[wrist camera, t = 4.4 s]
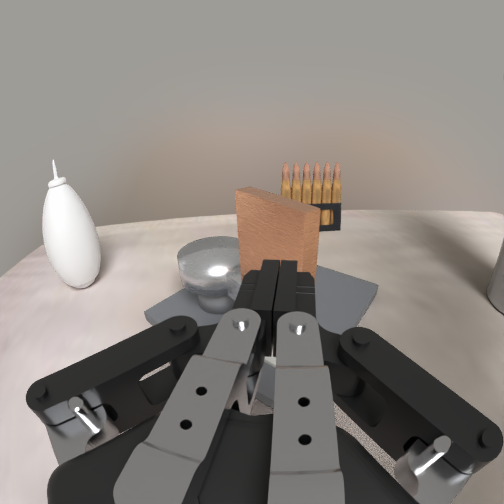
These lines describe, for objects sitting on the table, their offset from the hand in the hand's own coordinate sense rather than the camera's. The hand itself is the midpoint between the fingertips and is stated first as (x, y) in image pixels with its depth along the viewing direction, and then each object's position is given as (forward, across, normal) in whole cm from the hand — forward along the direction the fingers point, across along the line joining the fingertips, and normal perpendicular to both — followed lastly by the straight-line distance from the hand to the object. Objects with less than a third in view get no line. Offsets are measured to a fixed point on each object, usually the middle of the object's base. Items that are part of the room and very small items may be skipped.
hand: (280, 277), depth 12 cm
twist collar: (+9, +4, +8) cm, 12 cm away
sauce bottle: (+14, +28, +12) cm, 33 cm away
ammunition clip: (+35, -3, +12) cm, 37 cm away
